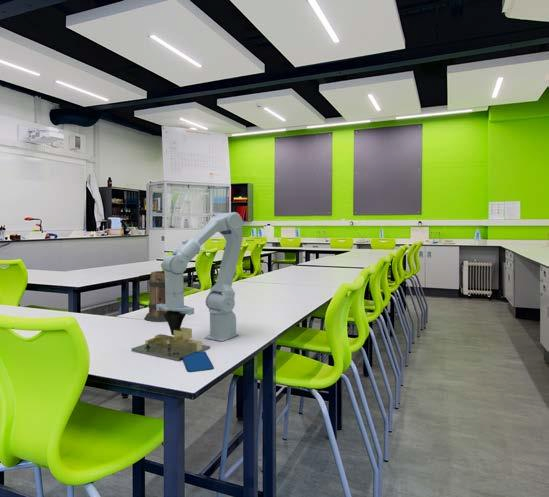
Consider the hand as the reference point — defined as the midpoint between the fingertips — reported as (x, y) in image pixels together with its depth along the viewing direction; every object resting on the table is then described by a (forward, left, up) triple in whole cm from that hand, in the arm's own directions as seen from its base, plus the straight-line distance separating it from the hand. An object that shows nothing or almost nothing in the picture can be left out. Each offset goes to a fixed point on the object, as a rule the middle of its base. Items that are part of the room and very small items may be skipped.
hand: (175, 334), depth 128 cm
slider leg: (+2, +3, -3) cm, 5 cm away
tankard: (-29, -33, -5) cm, 44 cm away
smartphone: (+7, +15, -5) cm, 17 cm away
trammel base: (+2, 0, -4) cm, 5 cm away
